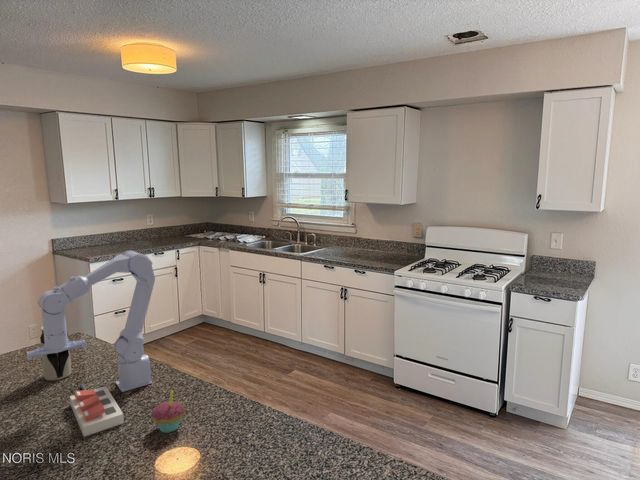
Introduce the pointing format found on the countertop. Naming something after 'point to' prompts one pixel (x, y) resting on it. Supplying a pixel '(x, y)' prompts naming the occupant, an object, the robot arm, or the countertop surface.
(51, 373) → the travel mug
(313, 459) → the countertop surface
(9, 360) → the countertop surface
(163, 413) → the cupcake
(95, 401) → the rocker middle
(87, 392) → the rocker
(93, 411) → the rocker
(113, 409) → the power strip
